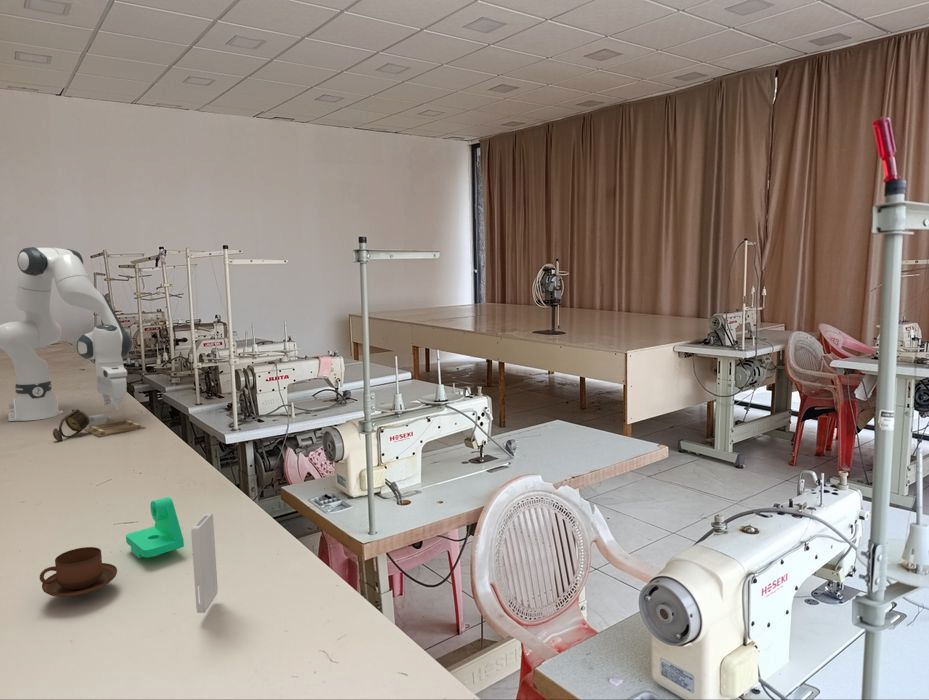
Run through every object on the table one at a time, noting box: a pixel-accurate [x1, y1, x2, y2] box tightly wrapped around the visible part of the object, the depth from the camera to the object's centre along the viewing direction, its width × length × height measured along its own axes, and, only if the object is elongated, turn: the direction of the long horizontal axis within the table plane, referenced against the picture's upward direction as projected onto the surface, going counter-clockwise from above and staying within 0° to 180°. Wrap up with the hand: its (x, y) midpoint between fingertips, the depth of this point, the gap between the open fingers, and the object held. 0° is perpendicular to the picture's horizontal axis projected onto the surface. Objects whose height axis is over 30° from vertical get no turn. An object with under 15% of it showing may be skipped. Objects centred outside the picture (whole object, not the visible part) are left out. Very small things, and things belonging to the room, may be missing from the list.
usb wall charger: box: [88, 413, 111, 426], centre depth 251 cm, size 4×7×4 cm, turn 151°
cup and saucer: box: [39, 546, 118, 598], centre depth 121 cm, size 12×12×6 cm
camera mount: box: [125, 496, 185, 559], centre depth 137 cm, size 12×8×10 cm, turn 45°
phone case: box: [190, 513, 219, 614], centre depth 113 cm, size 7×1×15 cm, turn 3°
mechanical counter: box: [52, 408, 90, 442], centre depth 230 cm, size 7×13×10 cm, turn 174°
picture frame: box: [83, 419, 146, 439], centre depth 240 cm, size 15×16×2 cm
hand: (112, 407), depth 239 cm, fingers open, 8 cm apart
